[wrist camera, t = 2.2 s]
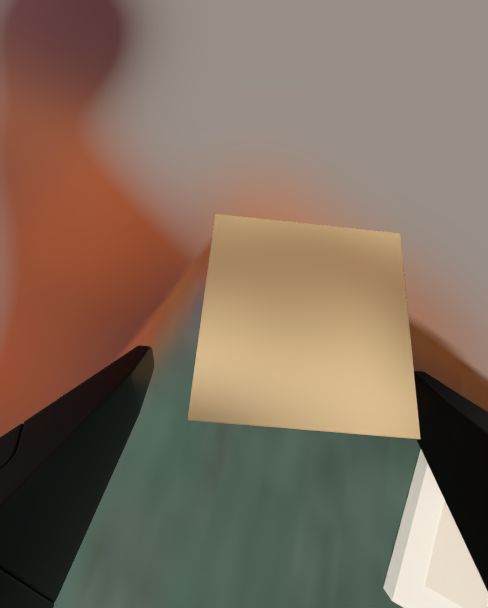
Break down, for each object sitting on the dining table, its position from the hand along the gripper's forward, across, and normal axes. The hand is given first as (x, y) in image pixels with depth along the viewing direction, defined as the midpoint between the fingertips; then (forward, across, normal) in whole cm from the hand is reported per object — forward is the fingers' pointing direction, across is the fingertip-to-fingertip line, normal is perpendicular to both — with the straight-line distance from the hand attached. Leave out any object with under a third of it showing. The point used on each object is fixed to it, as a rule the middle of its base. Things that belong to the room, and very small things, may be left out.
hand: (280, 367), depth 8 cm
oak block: (+7, 0, +6) cm, 9 cm away
